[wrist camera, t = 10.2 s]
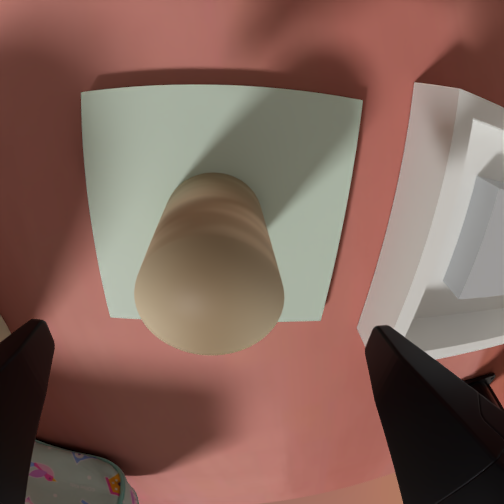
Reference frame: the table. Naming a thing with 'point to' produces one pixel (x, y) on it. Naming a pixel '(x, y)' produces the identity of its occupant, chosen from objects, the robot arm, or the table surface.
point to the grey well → (445, 229)
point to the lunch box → (75, 478)
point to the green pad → (220, 161)
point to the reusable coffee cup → (3, 329)
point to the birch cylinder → (210, 269)
